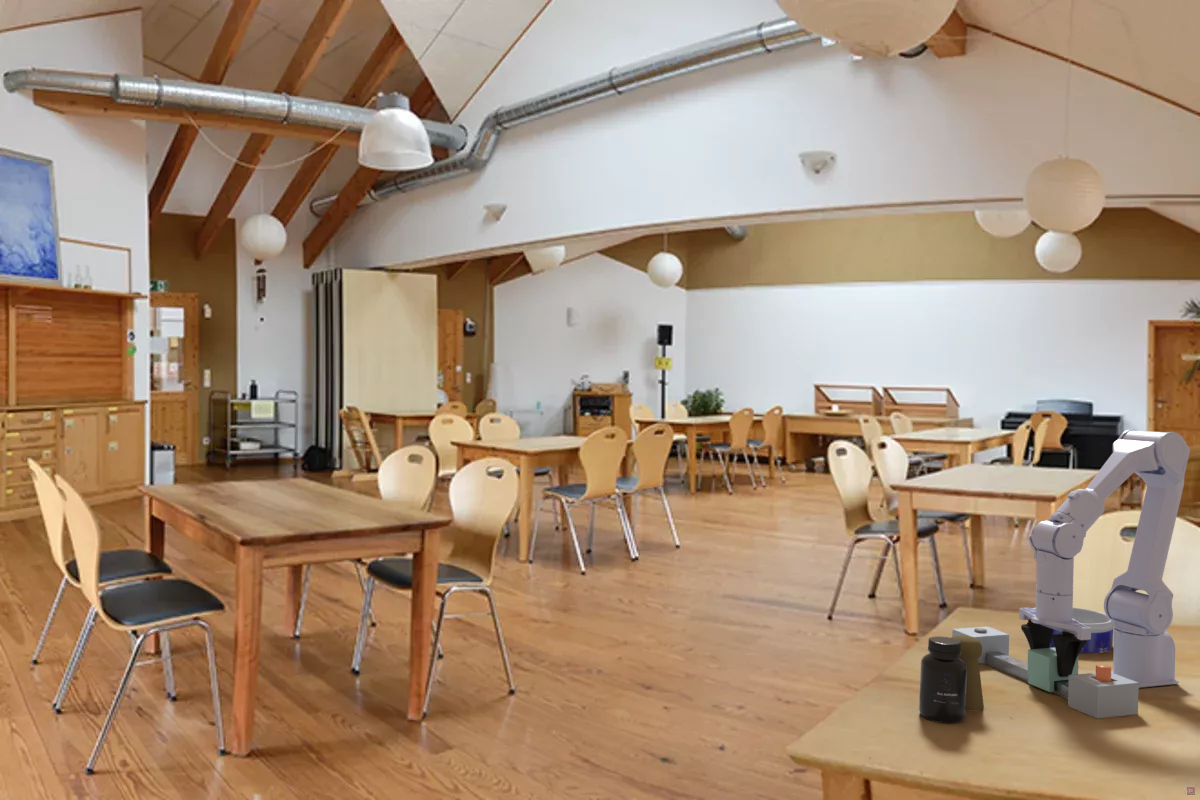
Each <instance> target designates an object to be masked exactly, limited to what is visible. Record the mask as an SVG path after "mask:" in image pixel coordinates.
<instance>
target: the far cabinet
mask: <svg viewBox="0 0 1200 800" xmlns="http://www.w3.org/2000/svg"><path fill="white" fill-rule="evenodd" d="M951 630H952V631H951V632H952V634H951V637H953V636H957V635H966V636H971V637H975V638H977V639H978V640H980V642H981V644H982V654H981V656H980V657H979V659H978V661H979V664H986V653H994V652H1001V653H1003V654H1006V655H1008V656H1010V653H1009V652H1010V648H1009V647H1010V634H1009V633H1006V632H1003V631H1001V630H998V629H996V628H993V627H991V626H987V625H986V626H977V627H960V628H952V629H951Z"/></svg>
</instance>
